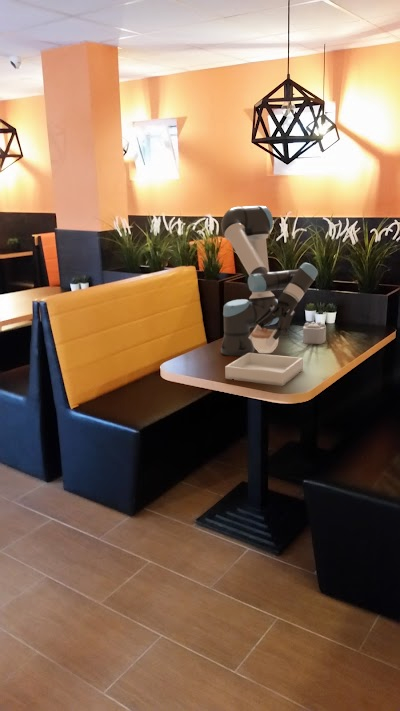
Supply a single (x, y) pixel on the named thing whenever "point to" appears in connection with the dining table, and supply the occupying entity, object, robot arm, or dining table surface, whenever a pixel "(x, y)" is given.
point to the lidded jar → (263, 341)
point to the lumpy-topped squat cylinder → (314, 333)
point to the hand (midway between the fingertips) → (259, 342)
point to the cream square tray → (264, 368)
